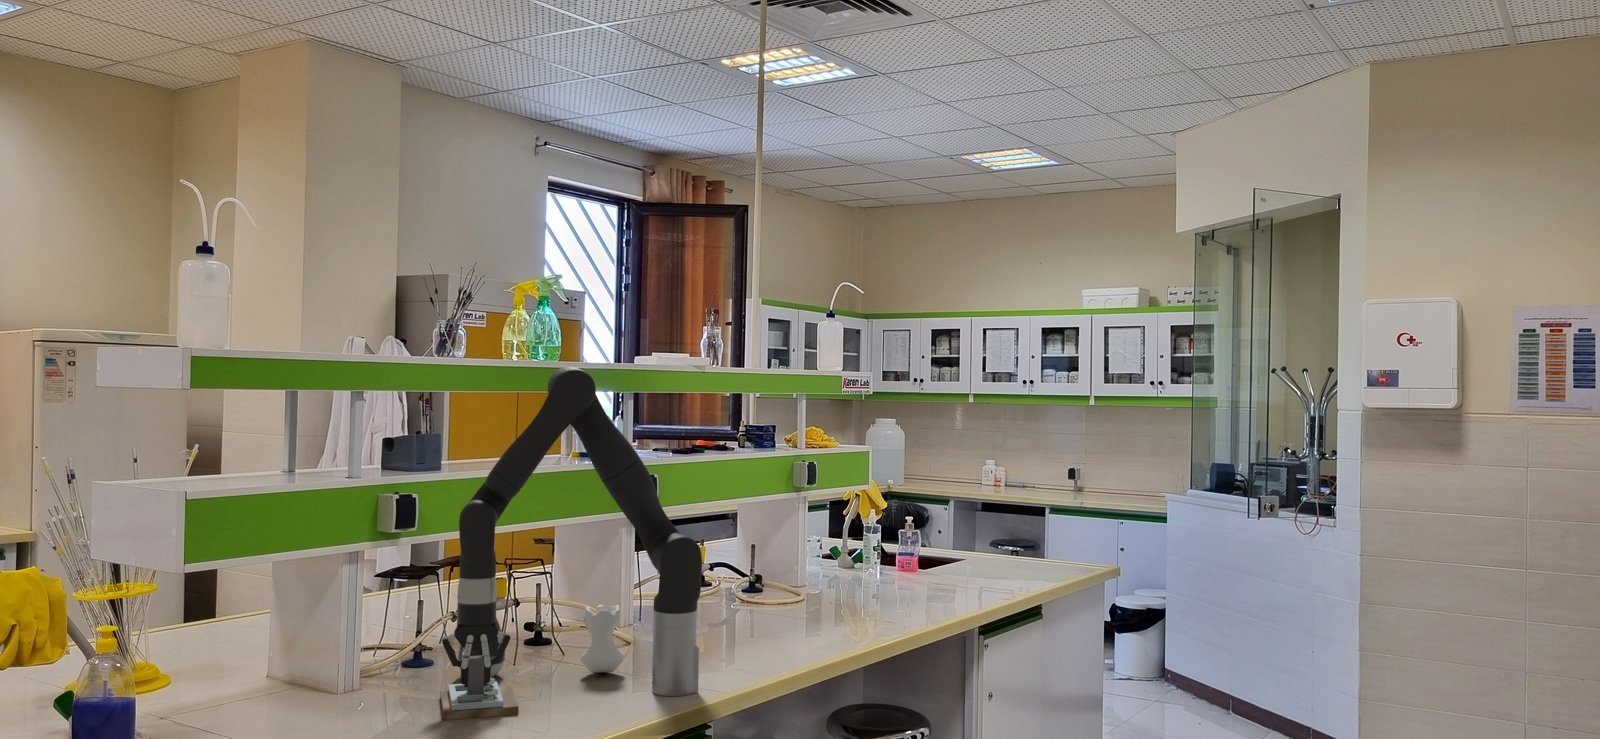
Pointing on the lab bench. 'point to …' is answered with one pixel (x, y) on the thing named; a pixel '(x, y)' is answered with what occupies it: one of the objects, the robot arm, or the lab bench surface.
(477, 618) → the robot arm
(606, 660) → the white scalloped vase
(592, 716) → the lab bench surface
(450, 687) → the keyhole panel
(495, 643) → the pump dispenser
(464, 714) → the walnut board
